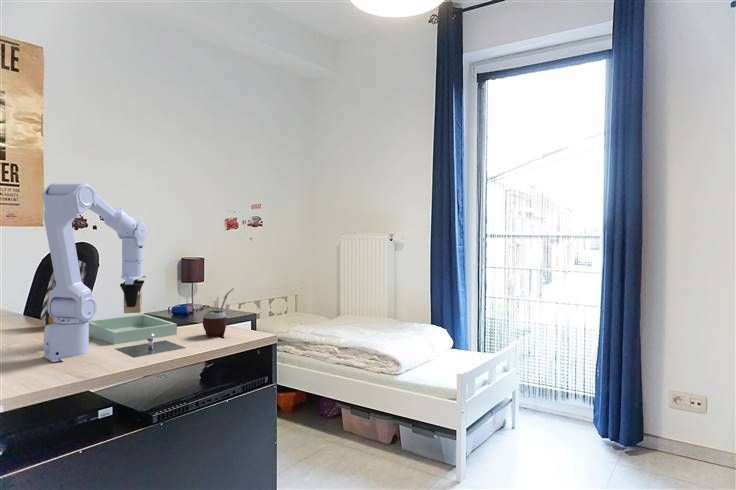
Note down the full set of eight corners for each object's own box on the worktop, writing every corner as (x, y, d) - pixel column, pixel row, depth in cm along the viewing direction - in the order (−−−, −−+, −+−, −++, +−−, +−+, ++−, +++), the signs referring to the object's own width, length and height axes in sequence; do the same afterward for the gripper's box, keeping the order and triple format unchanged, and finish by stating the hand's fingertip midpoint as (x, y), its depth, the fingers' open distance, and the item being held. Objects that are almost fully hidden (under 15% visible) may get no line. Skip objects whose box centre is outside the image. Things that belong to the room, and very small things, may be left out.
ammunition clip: (45, 326, 157) (45, 290, 156) (51, 325, 158) (51, 289, 158) (62, 330, 151) (62, 292, 151) (69, 329, 153) (69, 292, 153)
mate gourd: (198, 339, 143) (198, 289, 143) (212, 334, 151) (213, 286, 150) (220, 341, 141) (220, 291, 141) (233, 335, 149) (234, 288, 148)
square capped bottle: (139, 312, 144) (140, 287, 143) (123, 313, 142) (123, 287, 142) (141, 310, 148) (141, 285, 147) (126, 310, 146) (126, 286, 146)
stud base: (133, 360, 120) (133, 341, 119) (114, 351, 127) (114, 333, 127) (186, 350, 130) (186, 332, 130) (165, 343, 138) (165, 326, 138)
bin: (114, 347, 132) (114, 332, 132) (85, 334, 147) (85, 321, 147) (176, 336, 146) (176, 323, 146) (144, 326, 160) (144, 314, 160)
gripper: (144, 262, 139) (144, 309, 139) (149, 259, 152) (149, 301, 153) (117, 262, 136) (117, 309, 137) (125, 259, 150) (125, 302, 151)
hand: (132, 305), depth 145 cm, fingers closed on square capped bottle, 4 cm apart
